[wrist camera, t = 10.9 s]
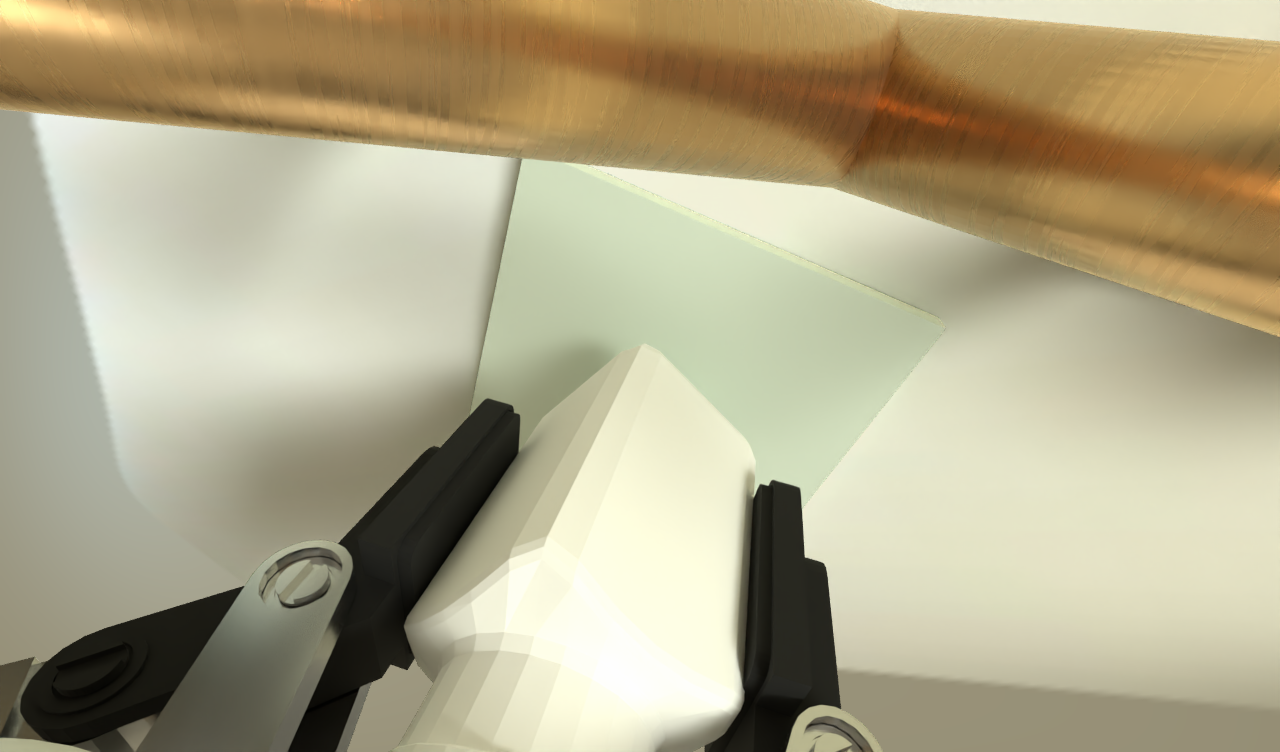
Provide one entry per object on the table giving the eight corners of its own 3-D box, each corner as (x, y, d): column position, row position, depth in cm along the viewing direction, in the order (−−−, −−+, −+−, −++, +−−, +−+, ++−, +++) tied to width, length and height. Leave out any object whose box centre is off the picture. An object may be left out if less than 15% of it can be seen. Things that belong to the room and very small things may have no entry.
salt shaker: (647, 515, 14) (469, 1131, 6) (537, 415, 13) (144, 979, 5) (767, 445, 12) (753, 1240, 4) (647, 322, 11) (289, 1017, 3)
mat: (938, 317, 12) (946, 328, 11) (743, 568, 17) (742, 583, 16) (535, 143, 12) (524, 145, 11) (469, 447, 17) (460, 458, 17)
